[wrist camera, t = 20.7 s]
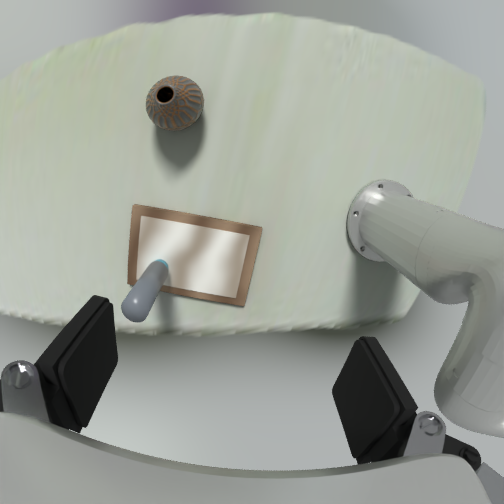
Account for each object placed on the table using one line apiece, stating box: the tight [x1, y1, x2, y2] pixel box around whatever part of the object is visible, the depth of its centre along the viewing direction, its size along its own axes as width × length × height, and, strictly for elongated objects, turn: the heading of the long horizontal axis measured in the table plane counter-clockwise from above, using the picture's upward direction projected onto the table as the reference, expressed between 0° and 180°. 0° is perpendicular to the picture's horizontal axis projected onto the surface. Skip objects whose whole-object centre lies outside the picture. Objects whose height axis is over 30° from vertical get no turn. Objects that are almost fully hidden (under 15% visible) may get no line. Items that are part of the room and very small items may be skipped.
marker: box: [121, 259, 168, 322], centre depth 33 cm, size 3×3×12 cm
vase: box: [146, 76, 204, 131], centre depth 28 cm, size 7×7×9 cm
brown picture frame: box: [127, 204, 262, 306], centre depth 39 cm, size 18×12×1 cm, turn 78°
